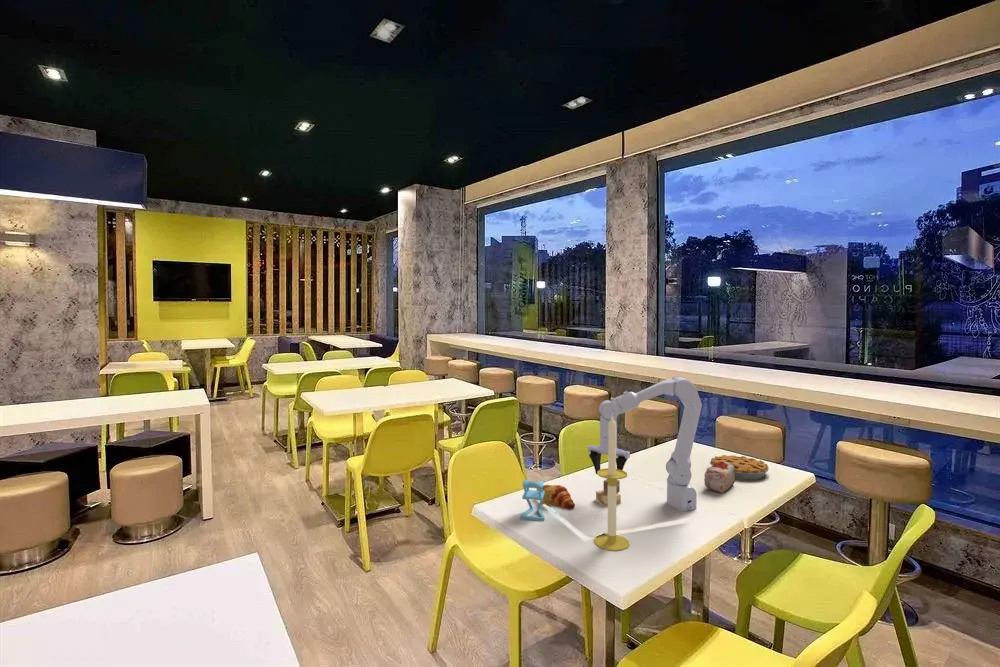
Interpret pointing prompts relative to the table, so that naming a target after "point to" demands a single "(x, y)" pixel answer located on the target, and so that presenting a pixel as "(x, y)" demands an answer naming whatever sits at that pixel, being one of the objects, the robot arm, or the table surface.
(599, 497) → the oak base
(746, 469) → the pie
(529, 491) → the chair
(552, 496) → the croissant
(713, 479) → the food item
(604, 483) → the walnut block
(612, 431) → the candle
